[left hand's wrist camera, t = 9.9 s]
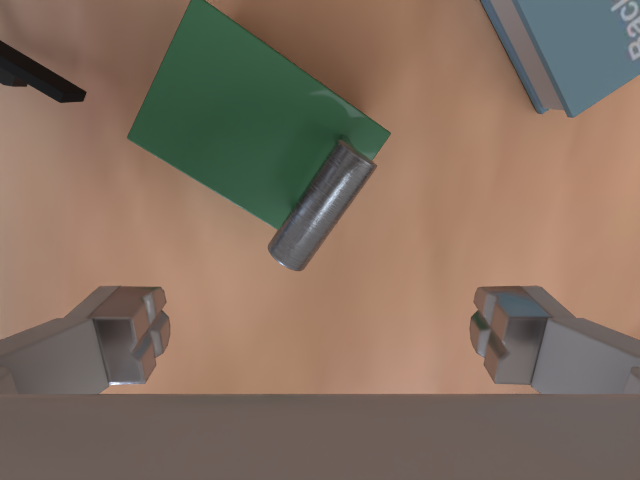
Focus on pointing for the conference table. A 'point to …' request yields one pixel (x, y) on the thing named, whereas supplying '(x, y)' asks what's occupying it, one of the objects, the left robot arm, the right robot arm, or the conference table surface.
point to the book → (569, 48)
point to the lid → (257, 131)
